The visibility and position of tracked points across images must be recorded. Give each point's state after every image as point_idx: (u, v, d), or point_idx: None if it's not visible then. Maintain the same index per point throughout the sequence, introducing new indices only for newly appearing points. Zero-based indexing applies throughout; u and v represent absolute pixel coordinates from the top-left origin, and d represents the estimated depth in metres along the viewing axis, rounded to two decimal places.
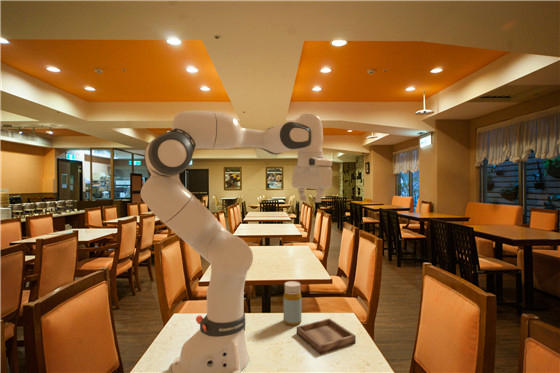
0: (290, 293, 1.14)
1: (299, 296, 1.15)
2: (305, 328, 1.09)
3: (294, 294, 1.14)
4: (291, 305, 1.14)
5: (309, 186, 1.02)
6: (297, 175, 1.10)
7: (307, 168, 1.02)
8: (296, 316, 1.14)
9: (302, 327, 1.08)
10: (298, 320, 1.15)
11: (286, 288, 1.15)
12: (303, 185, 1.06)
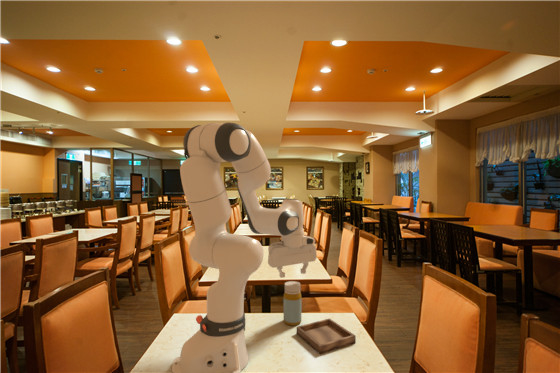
0: (290, 293, 1.14)
1: (299, 296, 1.15)
2: (305, 328, 1.09)
3: (294, 294, 1.14)
4: (291, 305, 1.14)
5: (300, 262, 1.17)
6: (280, 254, 1.13)
7: (300, 246, 1.16)
8: (296, 316, 1.14)
9: (302, 327, 1.08)
10: (298, 320, 1.15)
11: (286, 288, 1.15)
12: (291, 262, 1.15)
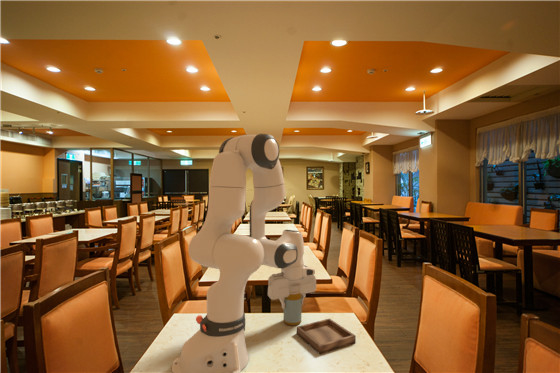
0: (290, 293, 1.14)
1: (299, 296, 1.15)
2: (305, 328, 1.09)
3: (294, 294, 1.14)
4: (291, 305, 1.14)
5: None
6: (280, 286, 1.13)
7: (300, 278, 1.16)
8: (296, 316, 1.14)
9: (302, 327, 1.08)
10: (298, 320, 1.15)
11: None
12: None
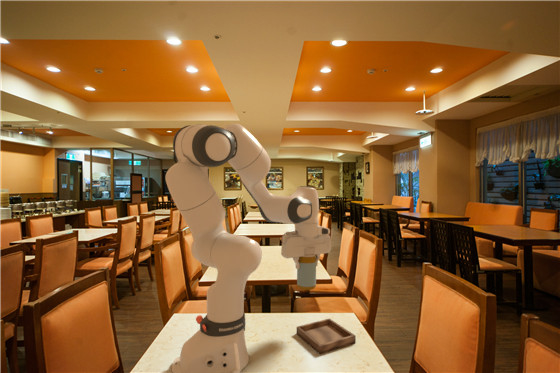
0: (305, 256, 1.08)
1: (314, 259, 1.10)
2: (305, 328, 1.09)
3: (309, 257, 1.09)
4: (306, 268, 1.08)
5: (314, 253, 1.11)
6: (294, 244, 1.07)
7: (314, 237, 1.10)
8: (311, 280, 1.09)
9: (302, 327, 1.08)
10: (313, 284, 1.09)
11: None
12: None
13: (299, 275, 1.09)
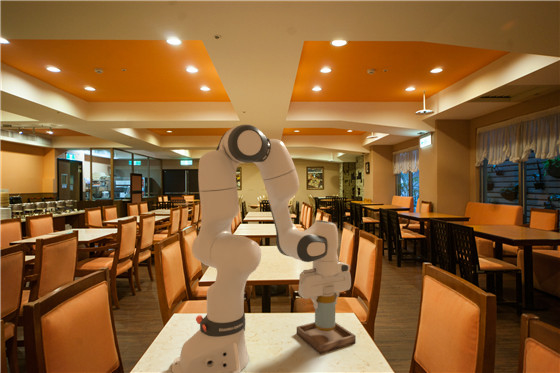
0: (324, 295, 1.02)
1: (333, 298, 1.03)
2: (305, 328, 1.09)
3: (328, 296, 1.02)
4: (325, 308, 1.02)
5: None
6: (313, 283, 1.01)
7: (334, 274, 1.03)
8: (331, 320, 1.02)
9: (302, 327, 1.08)
10: (332, 325, 1.02)
11: None
12: None
13: (317, 315, 1.03)
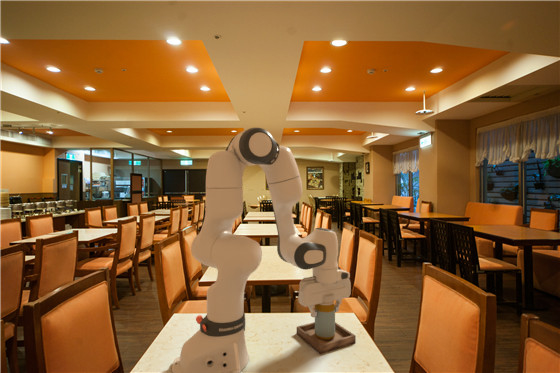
0: (324, 304, 1.02)
1: (333, 307, 1.03)
2: (305, 328, 1.09)
3: (328, 305, 1.02)
4: (325, 317, 1.02)
5: None
6: (313, 291, 1.01)
7: (334, 282, 1.04)
8: (330, 329, 1.02)
9: (302, 327, 1.08)
10: (332, 334, 1.02)
11: None
12: None
13: (317, 324, 1.03)
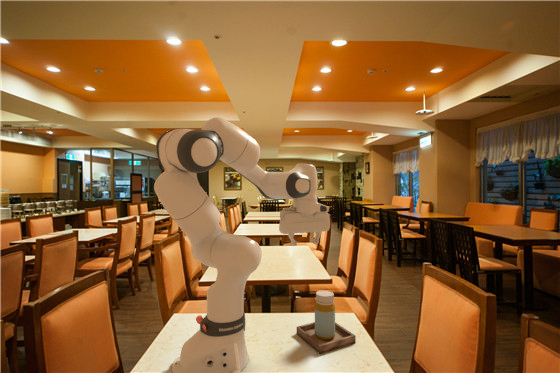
0: (324, 304, 1.02)
1: (333, 307, 1.03)
2: (305, 328, 1.09)
3: (328, 305, 1.02)
4: (325, 317, 1.02)
5: (312, 230, 1.11)
6: (292, 220, 1.07)
7: (313, 214, 1.10)
8: (330, 329, 1.02)
9: (302, 327, 1.08)
10: (332, 334, 1.02)
11: (318, 298, 1.03)
12: (303, 230, 1.09)
13: (317, 324, 1.03)
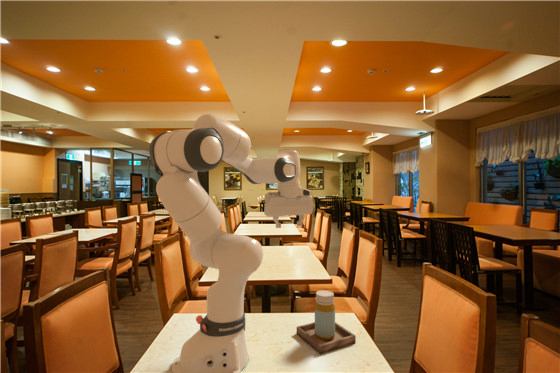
0: (324, 304, 1.02)
1: (333, 307, 1.03)
2: (305, 328, 1.09)
3: (328, 305, 1.02)
4: (325, 317, 1.02)
5: (296, 213, 1.17)
6: (276, 204, 1.13)
7: (296, 197, 1.16)
8: (330, 329, 1.02)
9: (302, 327, 1.08)
10: (332, 334, 1.02)
11: (318, 298, 1.03)
12: (287, 212, 1.15)
13: (317, 324, 1.03)
